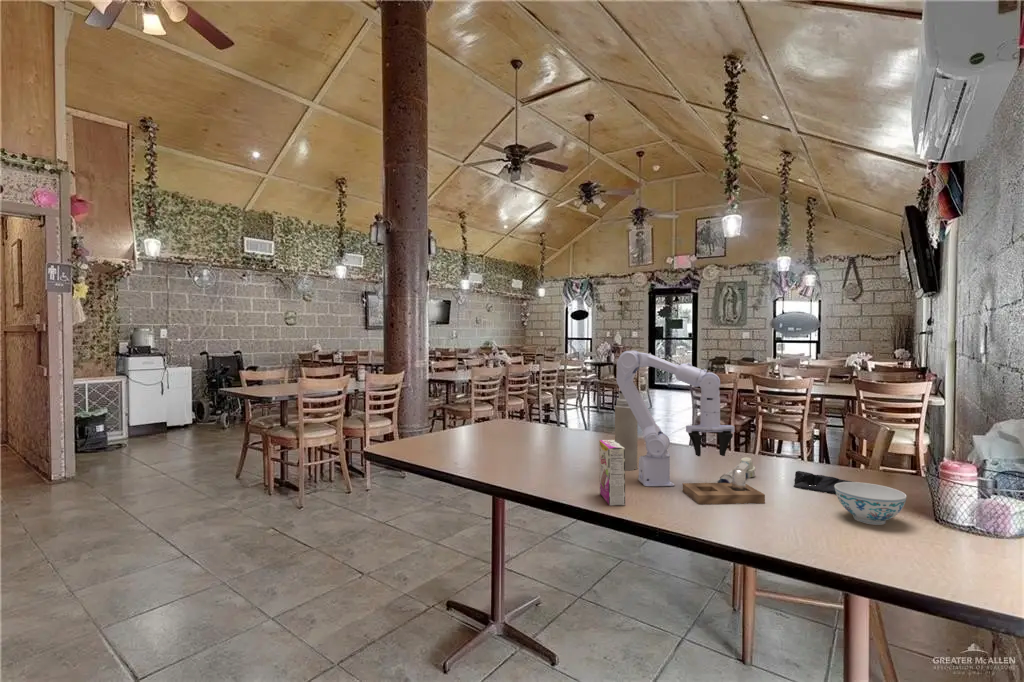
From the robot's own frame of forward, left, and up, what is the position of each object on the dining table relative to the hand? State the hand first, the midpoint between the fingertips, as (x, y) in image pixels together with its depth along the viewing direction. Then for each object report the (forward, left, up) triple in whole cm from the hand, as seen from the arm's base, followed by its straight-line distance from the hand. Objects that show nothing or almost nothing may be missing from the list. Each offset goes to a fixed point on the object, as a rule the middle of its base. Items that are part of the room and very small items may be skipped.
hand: (710, 455), depth 154 cm
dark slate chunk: (+39, -2, -11) cm, 40 cm away
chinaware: (+29, -28, -11) cm, 42 cm away
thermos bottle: (-19, +27, -11) cm, 35 cm away
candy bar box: (-33, -9, -11) cm, 36 cm away
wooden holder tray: (0, -8, -10) cm, 13 cm away
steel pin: (+5, -8, -10) cm, 14 cm away
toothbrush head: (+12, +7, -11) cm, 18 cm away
